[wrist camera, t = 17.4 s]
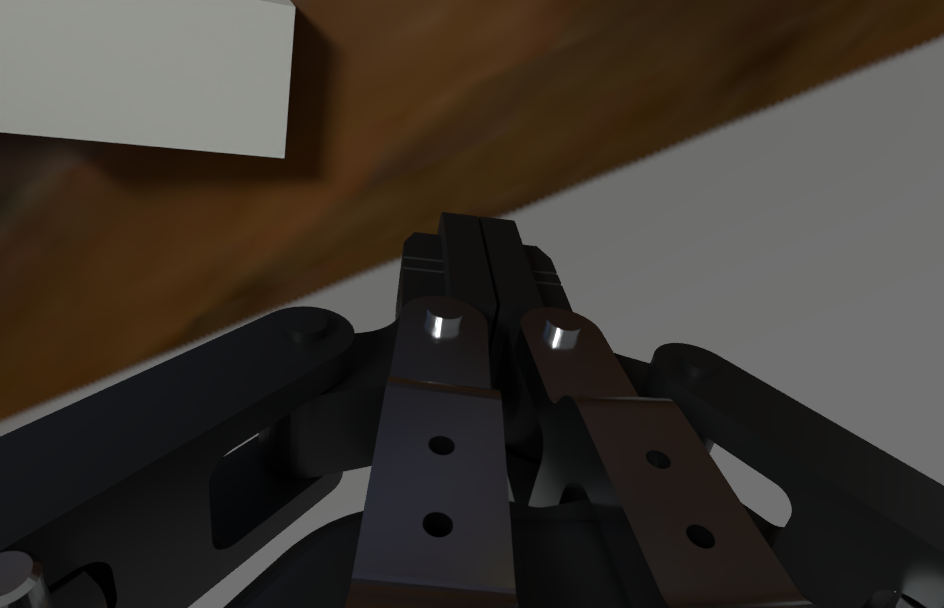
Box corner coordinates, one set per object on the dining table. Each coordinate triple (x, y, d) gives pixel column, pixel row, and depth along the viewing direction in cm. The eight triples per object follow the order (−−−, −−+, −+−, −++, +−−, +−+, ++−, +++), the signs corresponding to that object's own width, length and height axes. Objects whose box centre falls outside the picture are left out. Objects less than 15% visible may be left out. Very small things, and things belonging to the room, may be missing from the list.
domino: (279, 141, 23) (-27, 110, 19) (288, -2, 21) (-56, -68, 17) (284, 158, 21) (-44, 128, 18) (295, 7, 19) (-79, -63, 16)
